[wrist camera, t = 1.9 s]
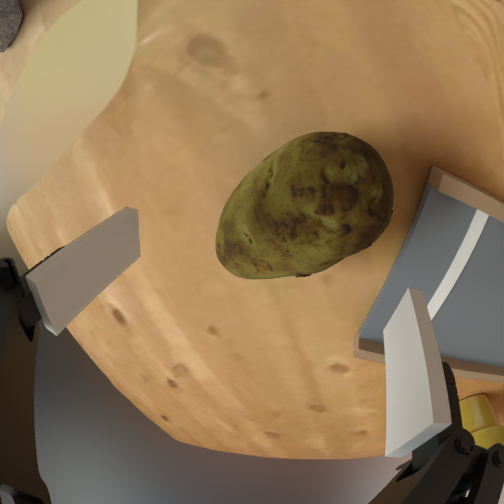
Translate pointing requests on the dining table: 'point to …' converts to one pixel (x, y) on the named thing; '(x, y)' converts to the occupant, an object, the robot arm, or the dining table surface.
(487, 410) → the plant pot
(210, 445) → the dining table surface
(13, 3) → the stone
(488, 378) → the lane
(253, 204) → the potato
